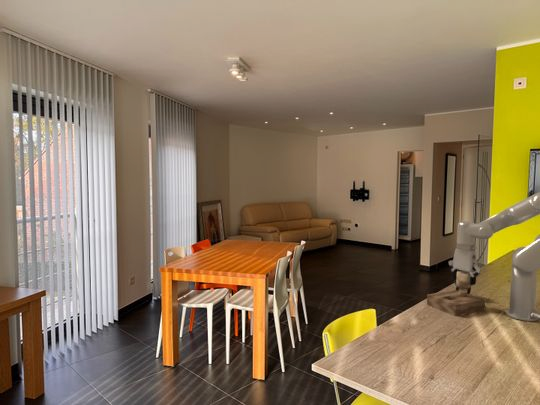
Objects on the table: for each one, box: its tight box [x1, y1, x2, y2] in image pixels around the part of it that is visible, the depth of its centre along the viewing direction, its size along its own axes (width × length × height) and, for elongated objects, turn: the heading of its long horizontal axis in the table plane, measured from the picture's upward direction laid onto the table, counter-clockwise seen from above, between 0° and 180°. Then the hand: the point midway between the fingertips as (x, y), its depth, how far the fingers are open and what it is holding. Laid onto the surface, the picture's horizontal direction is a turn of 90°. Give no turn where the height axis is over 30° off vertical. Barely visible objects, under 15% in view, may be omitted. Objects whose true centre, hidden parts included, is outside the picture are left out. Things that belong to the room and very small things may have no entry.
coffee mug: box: [453, 279, 472, 295], centre depth 193 cm, size 12×9×10 cm
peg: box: [456, 270, 472, 297], centre depth 178 cm, size 6×6×11 cm
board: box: [426, 289, 486, 317], centre depth 177 cm, size 16×20×5 cm
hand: (463, 282), depth 178 cm, fingers open, 9 cm apart
